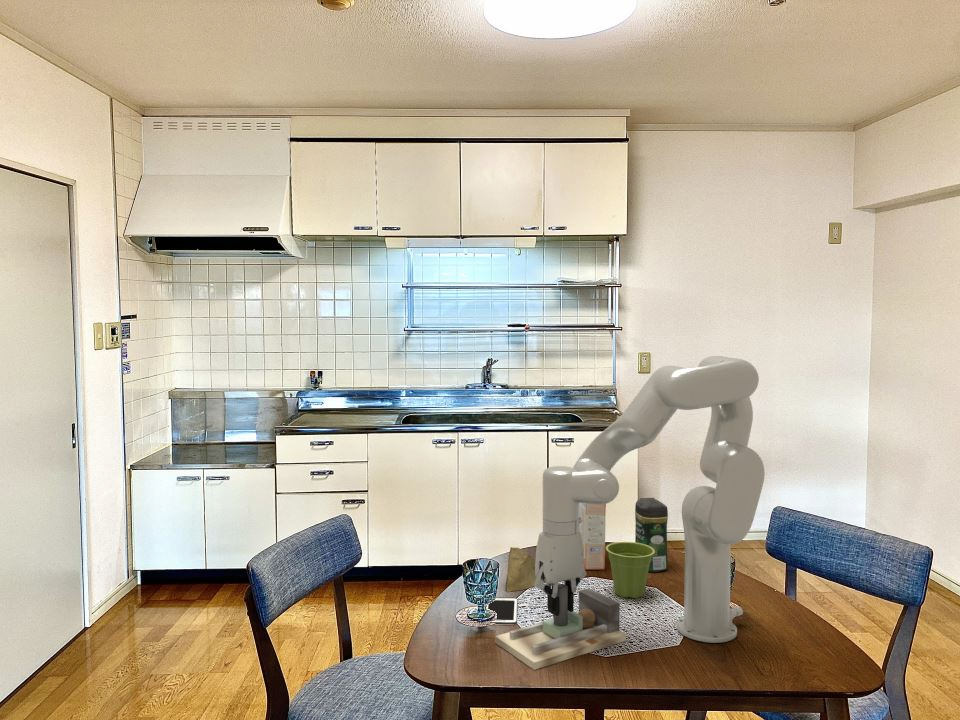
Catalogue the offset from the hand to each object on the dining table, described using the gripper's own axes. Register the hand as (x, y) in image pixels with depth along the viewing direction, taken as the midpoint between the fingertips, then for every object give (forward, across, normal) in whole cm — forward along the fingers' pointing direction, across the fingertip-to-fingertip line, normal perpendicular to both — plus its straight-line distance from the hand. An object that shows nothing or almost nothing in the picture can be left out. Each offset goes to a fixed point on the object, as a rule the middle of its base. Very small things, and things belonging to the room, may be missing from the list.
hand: (560, 610), depth 156 cm
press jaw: (+5, 0, 0) cm, 5 cm away
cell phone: (+7, +2, -20) cm, 21 cm away
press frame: (+7, 0, 0) cm, 7 cm away
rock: (+7, -12, -30) cm, 33 cm away
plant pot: (+7, -31, -12) cm, 34 cm away
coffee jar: (+7, -49, -23) cm, 55 cm away
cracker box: (+7, -38, -35) cm, 52 cm away
